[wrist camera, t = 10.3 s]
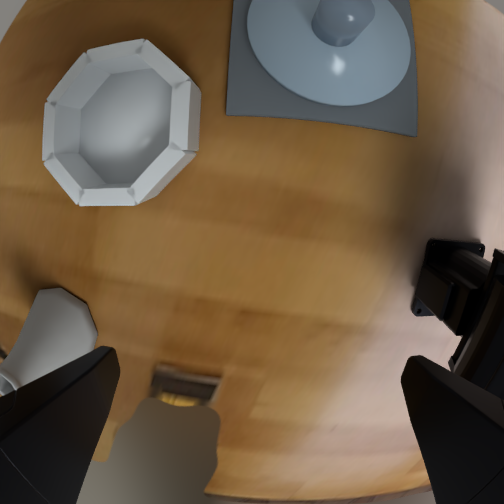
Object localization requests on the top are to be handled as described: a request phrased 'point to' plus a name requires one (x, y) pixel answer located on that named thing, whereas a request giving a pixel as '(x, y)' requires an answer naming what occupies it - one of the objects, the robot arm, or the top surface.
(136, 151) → the bowl
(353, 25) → the lid
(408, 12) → the plate
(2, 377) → the flask
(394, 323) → the top surface
